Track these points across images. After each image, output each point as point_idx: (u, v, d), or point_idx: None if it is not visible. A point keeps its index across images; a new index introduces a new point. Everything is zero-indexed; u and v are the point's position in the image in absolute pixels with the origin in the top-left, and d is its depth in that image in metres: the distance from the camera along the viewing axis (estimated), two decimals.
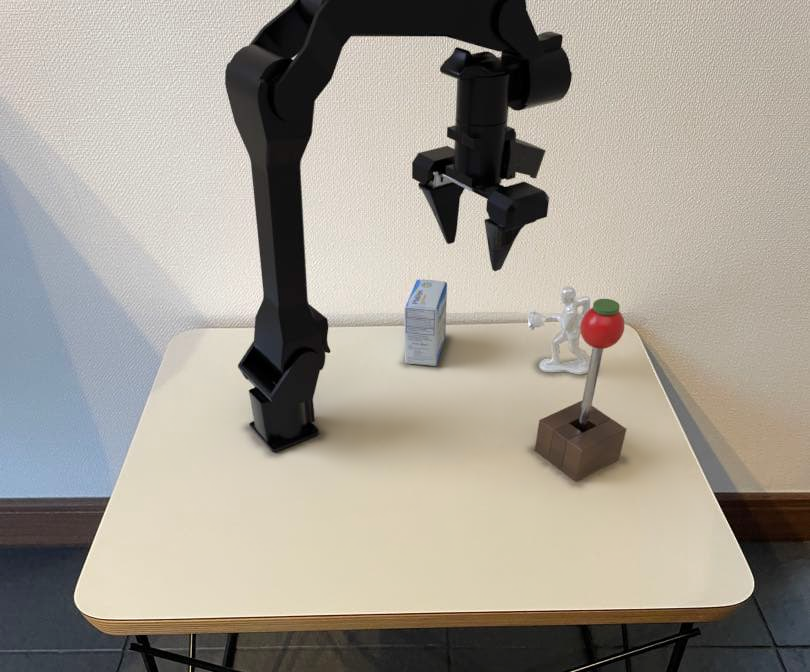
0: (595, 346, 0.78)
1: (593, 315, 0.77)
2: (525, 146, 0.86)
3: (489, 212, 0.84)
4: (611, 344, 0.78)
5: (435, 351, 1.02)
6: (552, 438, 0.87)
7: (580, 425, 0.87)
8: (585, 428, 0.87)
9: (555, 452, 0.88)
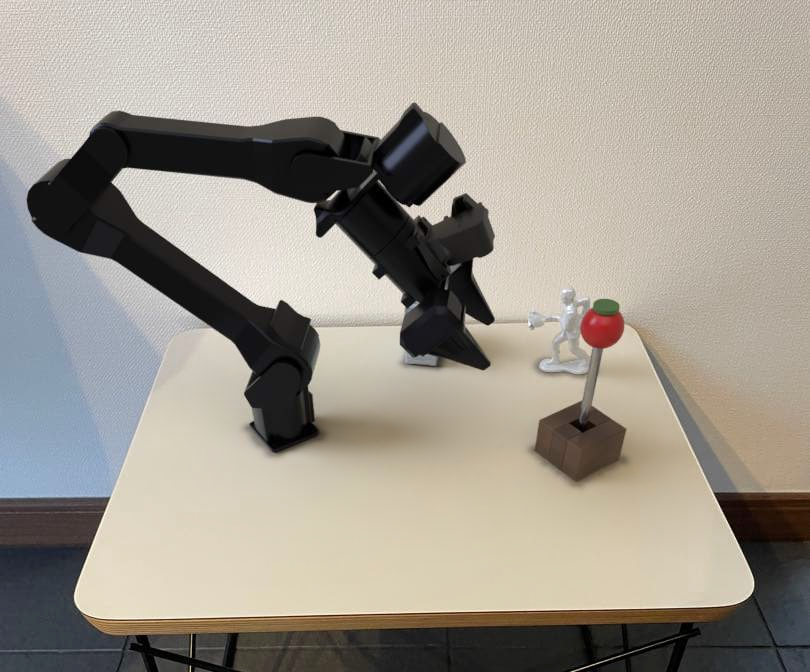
0: (595, 346, 0.78)
1: (593, 315, 0.77)
2: (443, 239, 0.73)
3: None
4: (611, 344, 0.78)
5: None
6: (552, 438, 0.87)
7: (580, 425, 0.87)
8: (585, 428, 0.87)
9: (555, 452, 0.88)
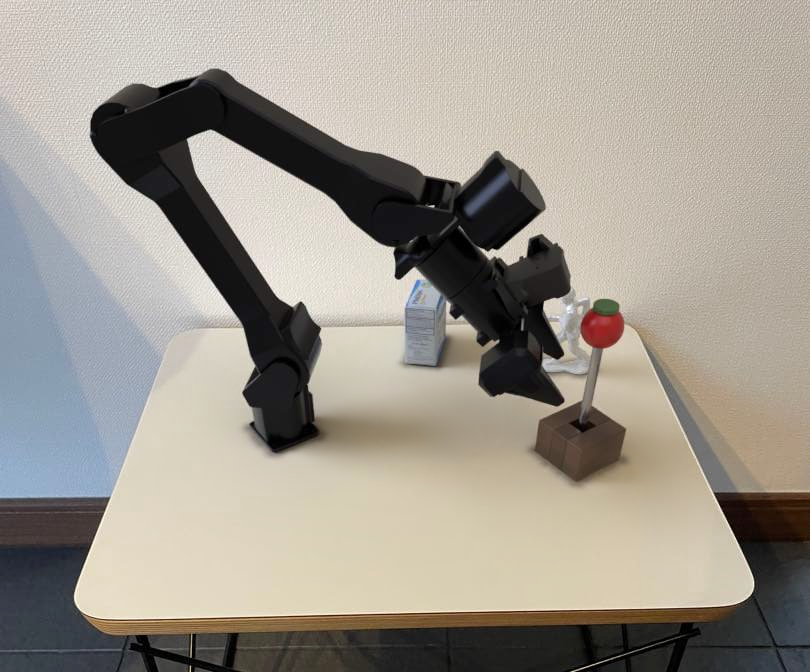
0: (595, 346, 0.78)
1: (593, 315, 0.77)
2: (521, 281, 0.74)
3: None
4: (611, 344, 0.78)
5: (435, 351, 1.02)
6: (552, 438, 0.87)
7: (580, 425, 0.87)
8: (585, 428, 0.87)
9: (555, 452, 0.88)
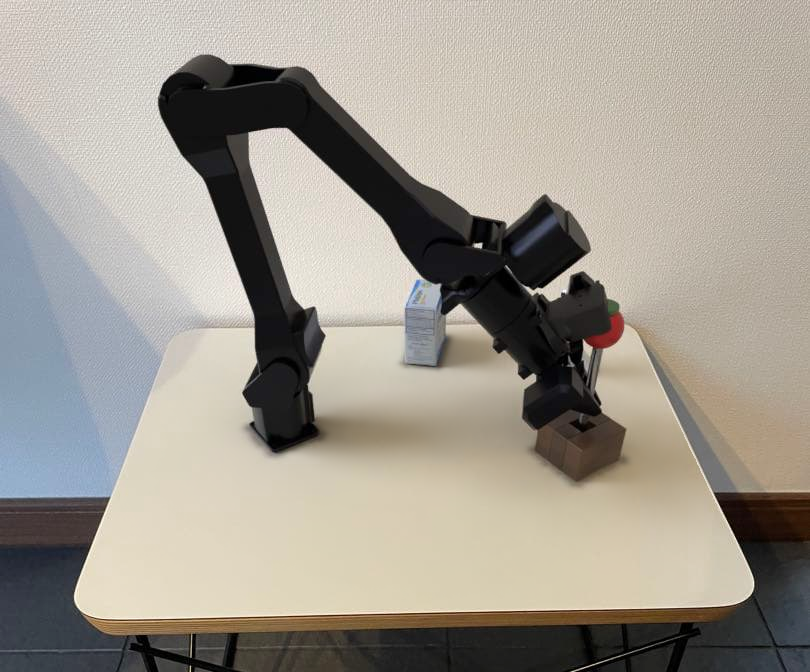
0: (595, 346, 0.78)
1: None
2: (565, 318, 0.76)
3: None
4: (611, 344, 0.78)
5: (435, 351, 1.02)
6: (552, 438, 0.87)
7: (580, 425, 0.87)
8: (585, 428, 0.87)
9: (555, 452, 0.88)
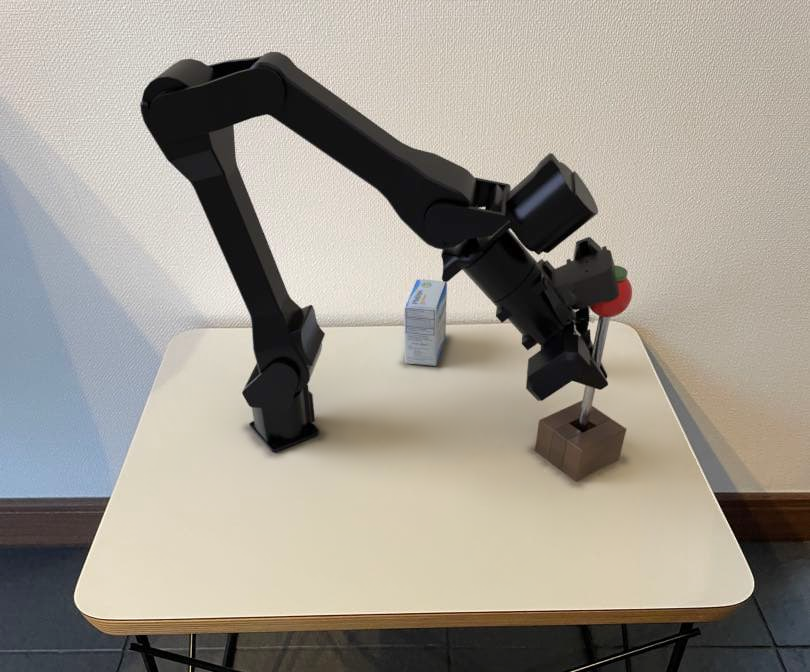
0: (602, 314, 0.76)
1: None
2: (571, 284, 0.73)
3: None
4: (618, 312, 0.75)
5: (435, 351, 1.02)
6: (552, 438, 0.87)
7: (585, 399, 0.84)
8: (591, 402, 0.84)
9: (555, 452, 0.88)
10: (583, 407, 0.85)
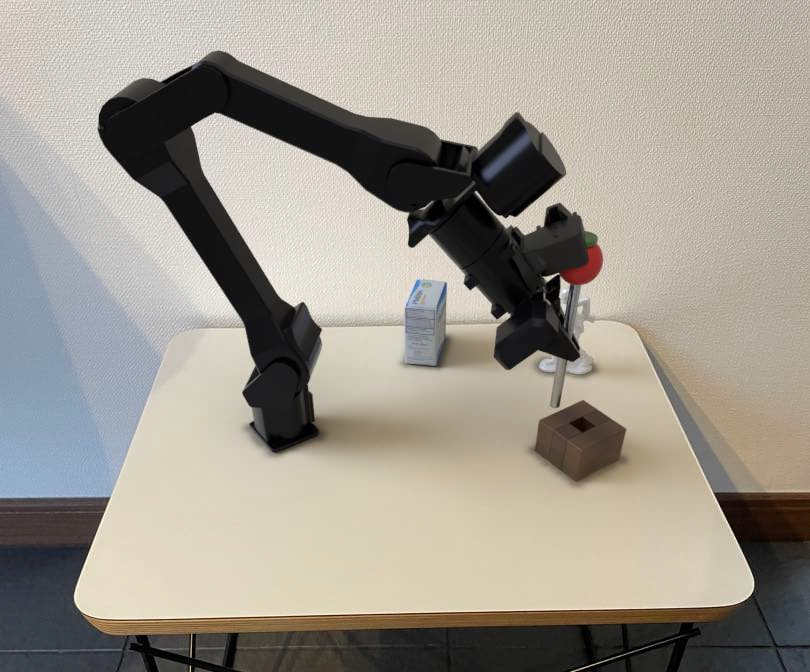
0: (572, 282, 0.74)
1: None
2: (539, 249, 0.71)
3: None
4: (589, 279, 0.73)
5: (435, 351, 1.02)
6: (552, 438, 0.87)
7: (558, 372, 0.82)
8: (563, 375, 0.82)
9: (555, 452, 0.88)
10: (555, 380, 0.83)
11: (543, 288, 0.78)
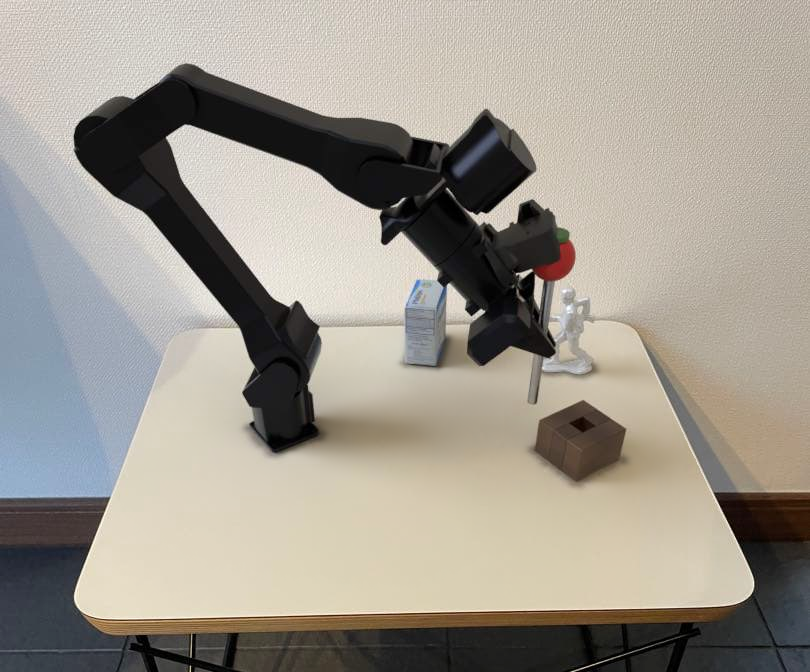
0: (545, 278, 0.74)
1: None
2: (511, 246, 0.71)
3: None
4: (562, 275, 0.73)
5: (435, 351, 1.02)
6: (552, 438, 0.87)
7: (534, 368, 0.82)
8: (539, 371, 0.83)
9: (555, 452, 0.88)
10: (532, 377, 0.83)
11: (518, 285, 0.78)
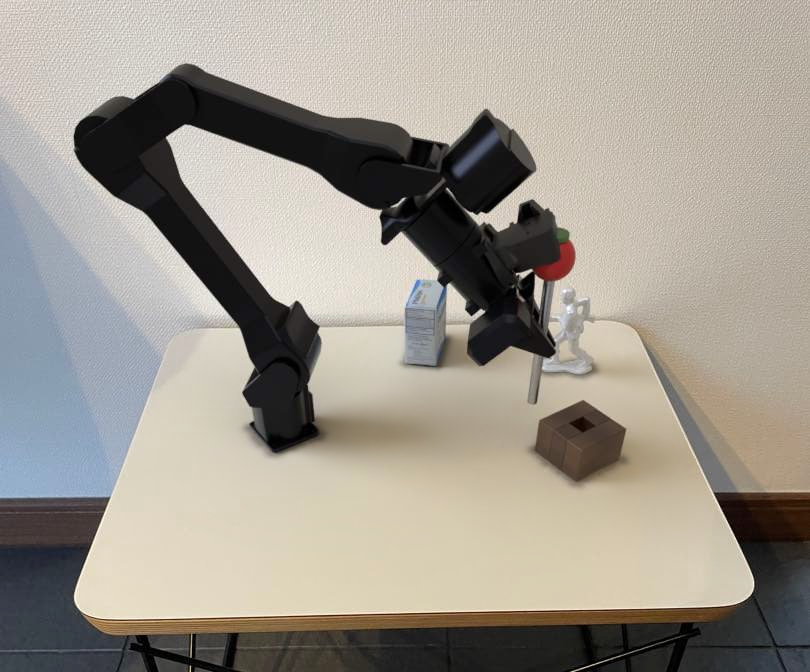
0: (545, 278, 0.74)
1: None
2: (511, 246, 0.71)
3: None
4: (562, 275, 0.73)
5: (435, 351, 1.02)
6: (552, 438, 0.87)
7: (534, 368, 0.82)
8: (539, 371, 0.83)
9: (555, 452, 0.88)
10: (532, 377, 0.83)
11: (518, 285, 0.78)
